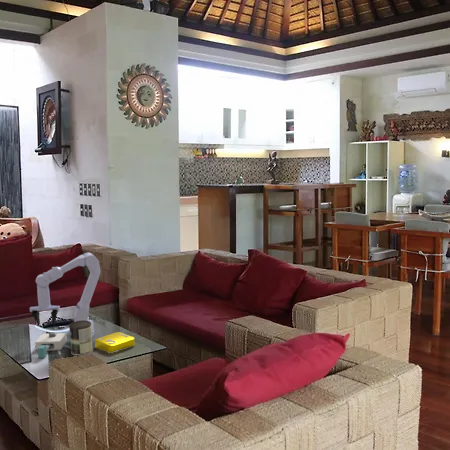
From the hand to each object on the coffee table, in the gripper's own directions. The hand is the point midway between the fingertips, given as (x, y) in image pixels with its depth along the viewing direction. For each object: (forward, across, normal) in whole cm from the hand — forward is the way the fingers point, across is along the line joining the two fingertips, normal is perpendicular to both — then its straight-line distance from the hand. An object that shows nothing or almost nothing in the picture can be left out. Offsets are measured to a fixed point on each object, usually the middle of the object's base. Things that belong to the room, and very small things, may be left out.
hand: (46, 324), depth 281 cm
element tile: (+11, +35, -8) cm, 38 cm away
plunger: (+6, +3, -2) cm, 7 cm away
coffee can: (+10, +20, -14) cm, 27 cm away
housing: (+10, +3, -4) cm, 11 cm away
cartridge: (+10, +3, -14) cm, 17 cm away
